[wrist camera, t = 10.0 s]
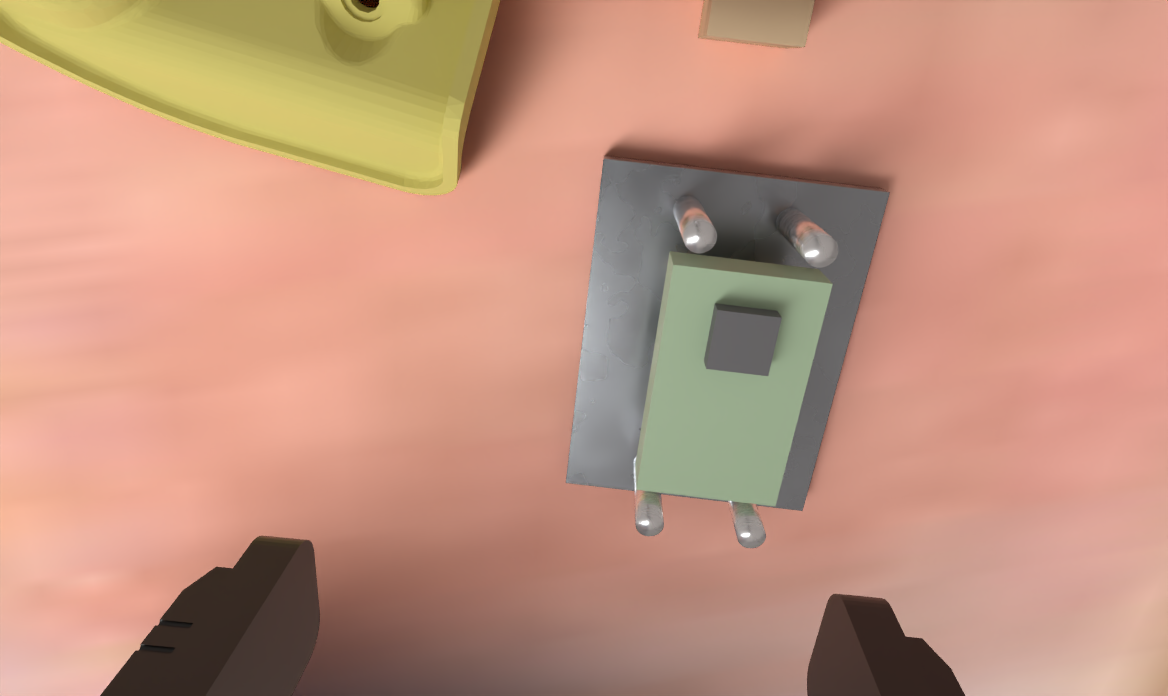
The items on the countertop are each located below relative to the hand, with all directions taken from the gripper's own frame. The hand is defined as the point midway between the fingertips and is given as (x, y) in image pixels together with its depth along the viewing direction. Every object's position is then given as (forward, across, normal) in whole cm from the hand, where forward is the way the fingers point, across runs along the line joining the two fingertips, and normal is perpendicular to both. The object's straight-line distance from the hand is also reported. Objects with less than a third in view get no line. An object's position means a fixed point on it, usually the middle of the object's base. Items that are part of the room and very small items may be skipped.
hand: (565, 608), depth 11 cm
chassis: (+22, -6, +5) cm, 24 cm away
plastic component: (+23, +14, -9) cm, 29 cm away
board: (+19, -6, +4) cm, 20 cm away
